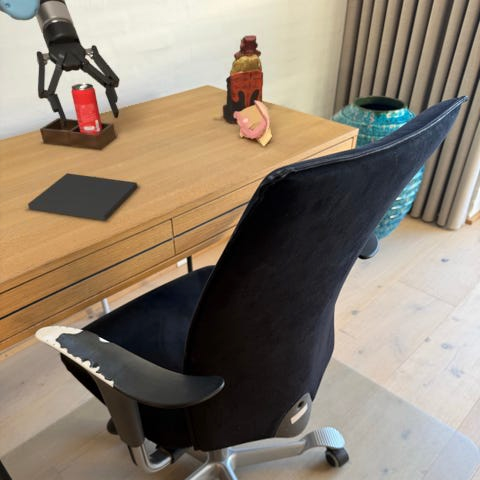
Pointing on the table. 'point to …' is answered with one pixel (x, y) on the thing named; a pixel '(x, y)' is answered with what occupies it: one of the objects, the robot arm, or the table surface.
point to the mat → (84, 196)
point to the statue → (244, 79)
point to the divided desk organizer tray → (76, 135)
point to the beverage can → (86, 108)
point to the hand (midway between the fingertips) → (91, 119)
